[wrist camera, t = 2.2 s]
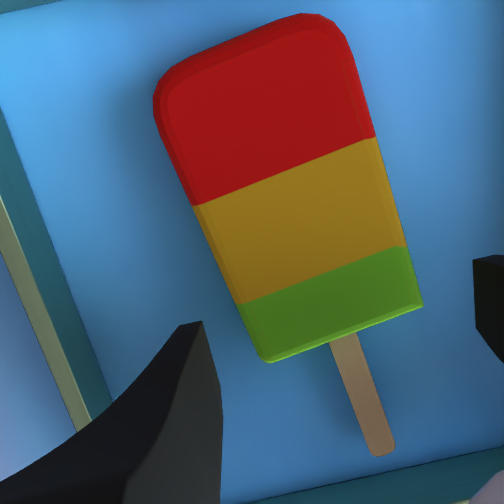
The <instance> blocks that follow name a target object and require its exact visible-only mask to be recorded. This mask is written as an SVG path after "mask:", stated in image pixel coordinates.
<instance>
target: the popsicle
mask: <svg viewBox="0 0 504 504" xmlns="http://www.w3.org/2000/svg"><path fill="white" fill-rule="evenodd" d="M153 116H154V119H155V122H156V125H157V128H158V131H159V134H160V137H161V139H162V141H163V144H164V146H165V148H166V150H167V153H168V155H169V157H170V159H171V161H172V164H173V166H174V168H175V170H176V173H177V175H178V177H179V179H180V182H181V184H182V186H183V188H184V191H185V193H186V195H187V197H188V199H189V202H190V204H191V206H192V208H193V211H194V213H195V215H196V217H197V220H198V222H199V224H200V226H201V229H202V231H203V233H204V235H205V238H206V240H207V242H208V244H209V246H210V249H211V251H212V253H213V255H214V258H215V260H216V262H217V264H218V267H219V269H220V271H221V273H222V276H223V278H224V280H225V282H226V284H227V287H228V289H229V291H230V293H231V296H232V298H233V300H234V302H235V305H236V307H237V309H238V311H239V314H240V316H241V318H242V320H243V322H244V325H245V327H246V329H247V331H248V334H249V336H250V338H251V340H252V343H253V345H254V347H255V349H256V352H257V354H258V356H259V357H260V359H261V360H263V361H264V362H266V363H274V362H277V361H280V360H282V359H285V358H288V357H290V356H293V355H296V354H298V353H301V352H304V351H306V350H309V349H312V348H314V347H317V346H320V345H322V344H325V343H329V346H330V348H331V351H332V354H333V356H334V359H335V362H336V364H337V367H338V369H339V372H340V375H341V377H342V380H343V383H344V385H345V388H346V390H347V393H348V396H349V398H350V401H351V404H352V406H353V409H354V412H355V414H356V417H357V419H358V422H359V425H360V427H361V430H362V433H363V435H364V438H365V441H366V443H367V446H368V448H369V451H370V453H371V454H372V455H373V456H376V457H380V456H384V455H387V454H389V453H391V452H392V451H393V450H394V449H395V441H394V438H393V436H392V433H391V430H390V427H389V424H388V421H387V418H386V416H385V413H384V410H383V407H382V404H381V401H380V399H379V396H378V393H377V390H376V387H375V384H374V381H373V379H372V376H371V373H370V370H369V367H368V364H367V362H366V359H365V356H364V353H363V350H362V347H361V344H360V342H359V339H358V336H357V333H356V332H357V331H360V330H363V329H365V328H368V327H371V326H373V325H376V324H379V323H381V322H384V321H387V320H389V319H392V318H395V317H397V316H400V315H403V314H405V313H408V312H411V311H413V310H416V309H419V308H421V307H424V303H423V300H422V296H421V293H420V289H419V286H418V282H417V278H416V275H415V271H414V268H413V264H412V261H411V257H410V254H409V250H408V247H407V243H406V240H405V236H404V233H403V229H402V226H401V222H400V219H399V215H398V212H397V208H396V205H395V201H394V198H393V194H392V190H391V187H390V183H389V180H388V176H387V173H386V169H385V166H384V162H383V159H382V155H381V152H380V148H379V145H378V141H377V138H376V134H375V131H374V127H373V124H372V120H371V117H370V113H369V110H368V106H367V103H366V99H365V96H364V92H363V89H362V85H361V81H360V78H359V74H358V71H357V67H356V64H355V60H354V57H353V54H352V52H351V49H350V47H349V44H348V42H347V40H346V37H345V35H344V34H343V33H342V32H341V30H340V29H339V28H338V27H337V25H336V24H335V23H334V22H333V21H331V20H329V19H327V18H325V17H323V16H321V15H320V14H306V13H299V14H296V15H292V16H289V17H285V18H281V19H278V20H276V21H273V22H271V23H268V24H266V25H264V26H261V27H259V28H256V29H254V30H252V31H249V32H247V33H245V34H242V35H240V36H237V37H235V38H233V39H230V40H228V41H225V42H223V43H221V44H218V45H216V46H214V47H211V48H209V49H206V50H204V51H202V52H199V53H197V54H195V55H192V56H190V57H188V58H186V59H184V60H183V61H181V62H179V63H177V64H176V65H174V66H172V67H171V68H170V69H169V70H168V71H167V72H166V73H165V74H164V75H163V76H162V78H161V79H160V80H159V81H158V84H157V86H156V89H155V92H154V95H153Z"/></svg>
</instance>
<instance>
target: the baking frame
mask: <svg viewBox="0 0 504 504" xmlns="http://www.w3.org/2000/svg"><path fill="white" fill-rule="evenodd" d="M56 1H60V0H0V14H2V13H7V12H11V11H16V10H20V9H25V8H29V7H34V6H38V5H43V4H47V3H51V2H56ZM0 252H1V255H2V257H3V259H4V262H5V264H6V267H7V269H8V271H9V274H10V276H11V278H12V281H13V283H14V285H15V288H16V290H17V293H18V295H19V297H20V300H21V302H22V304H23V307H24V309H25V311H26V314H27V316H28V318H29V321H30V323H31V326H32V328H33V330H34V333H35V335H36V337H37V340H38V342H39V344H40V347H41V349H42V352H43V354H44V356H45V359H46V361H47V363H48V366H49V368H50V370H51V373H52V375H53V377H54V380H55V382H56V385H57V387H58V389H59V392H60V394H61V396H62V399H63V401H64V403H65V406H66V408H67V411H68V413H69V415H70V418H71V420H72V422H73V425H74V427H75V429H76V432H78V431H80V430H81V429H82V428H83V427H85V426H86V425H87V424H89V423H90V422H91V421H93V420H94V419H95V418H96V417H98V416H99V415H100V414H101V413H102V412H103V411H104V410H105V409H107V408H108V407H109V406H110V405H111V404H112V400H111V397H110V395H109V392H108V390H107V387H106V384H105V382H104V379H103V376H102V374H101V371H100V368H99V366H98V363H97V361H96V358H95V355H94V353H93V350H92V347H91V345H90V342H89V339H88V337H87V334H86V332H85V329H84V326H83V324H82V321H81V318H80V316H79V313H78V311H77V308H76V305H75V303H74V300H73V297H72V295H71V292H70V289H69V287H68V284H67V282H66V279H65V276H64V274H63V271H62V268H61V266H60V263H59V261H58V258H57V255H56V253H55V250H54V247H53V245H52V242H51V239H50V237H49V234H48V232H47V229H46V226H45V224H44V221H43V218H42V216H41V213H40V211H39V208H38V205H37V203H36V200H35V197H34V195H33V192H32V189H31V187H30V184H29V182H28V179H27V176H26V174H25V171H24V168H23V166H22V163H21V161H20V158H19V155H18V153H17V150H16V147H15V145H14V142H13V139H12V137H11V134H10V132H9V129H8V126H7V124H6V121H5V118H4V116H3V113H2V111H1V108H0ZM502 470H504V447H500V448H495V449H491V450H486V451H482V452H477V453H473V454H468V455H464V456H459V457H455V458H450V459H446V460H441V461H437V462H432V463H428V464H423V465H419V466H414V467H410V468H405V469H401V470H396V471H392V472H387V473H383V474H378V475H374V476H369V477H365V478H360V479H356V480H351V481H347V482H342V483H338V484H333V485H329V486H324V487H320V488H315V489H311V490H306V491H302V492H297V493H293V494H288V495H284V496H279V497H275V498H270V499H266V500H261V501H257V502H252V503H248V504H468V503H469V501H470V499H471V498H472V497H473V496H474V495H475V494H476V493H477V492H478V491H479V490H480V489H481V488H482V487H483V486H484V485H485V484H486V483H487V482H488V481H489V480H490V479H491V478H492V477H493V476H494V475H495V474H496V473H498V472H500V471H502Z"/></svg>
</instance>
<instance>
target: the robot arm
mask: <svg viewBox="0 0 504 504" xmlns="http://www.w3.org/2000/svg"><path fill="white" fill-rule="evenodd" d="M473 281H474V302H475V323H476V329H477V330H478V332H479V333H480V335H481V336H482V337H483V339H484V340H485V342H486V343H487V344H488V346H489V347H490V348H491V349H492V351H493V352H494V353H495V355H496V356H497V357H498V358H499V359H500V360H501V361H502V362H503V363H504V255H491V256H487V257H482V258H478V259H474V260H473ZM222 439H223V410H222V399H221V389H220V383H219V379H218V376H217V372H216V368H215V365H214V361H213V358H212V354H211V351H210V347H209V343H208V340H207V336H206V333H205V329H204V325H203V322H202V321H197V322H193V323H188V324H184V325H179V326H178V328H177V329H176V330H175V331H174V333H173V334H172V335H171V336H170V338H169V339H168V340H167V342H166V343H165V344H164V346H163V347H162V348H161V350H160V351H159V352H158V353H157V355H156V356H155V357H154V359H153V360H152V361H151V362H150V364H149V365H148V366H147V367H146V368H145V369H144V370H143V372H142V373H141V374H140V375H139V376H138V377H137V378H136V379H135V381H134V382H133V383H132V384H131V385H130V386H129V387H128V388H127V389H126V390H125V392H124V393H123V394H122V395H121V396H119V397H118V398H117V399H116V400H115V401H114V402H113V403H112V404H111V405H110V406H109V407H108V408H107V409H105V410H104V411H103V412H102V413H101V414H100V415H99V416H98V417H96V418H95V419H94V420H93V421H91V422H90V423H89V424H87V425H86V426H85V427H83V428H82V429H81V430H80V431H78V432H77V433H76V434H74V435H73V436H72V437H71V438H69V439H68V440H67V441H65V442H64V443H62V444H61V445H60V446H58V447H57V448H55V449H54V450H52V451H51V452H49V453H48V454H46V455H45V456H43V457H41V458H40V459H38V460H37V461H35V462H33V463H32V464H30V465H29V466H27V467H25V468H24V469H22V470H20V471H19V472H17V473H15V474H14V475H12V476H10V477H8V478H6V479H4V480H3V481H1V482H0V504H220V485H221V462H222ZM468 504H504V470H502V471H500V472H498V473H496V474H495V475H494V476H493V477H492V478H491V479H490V480H489V481H488V482H487V483H486V484H485V485H484V486H483V487H482V488H481V489H480V490H479V491H478V492H477V493H476V494H475V495H474V496H473V497H472V498H471V499H470V501H469V503H468Z"/></svg>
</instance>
